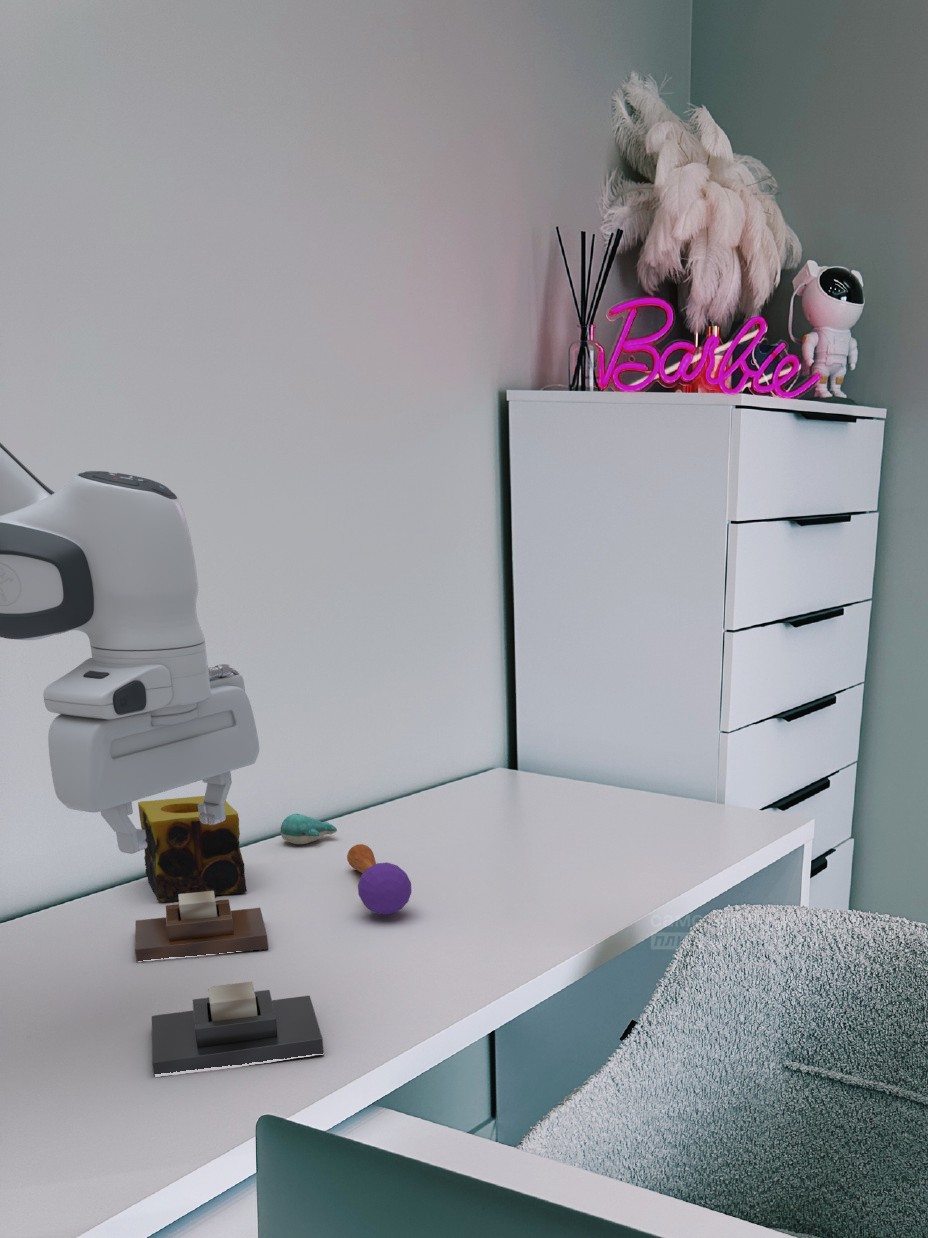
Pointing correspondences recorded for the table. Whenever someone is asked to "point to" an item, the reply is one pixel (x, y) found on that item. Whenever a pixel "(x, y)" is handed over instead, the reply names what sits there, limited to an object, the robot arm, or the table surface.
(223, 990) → the front key
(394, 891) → the purple maraca
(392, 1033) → the table surface
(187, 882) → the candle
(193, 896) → the back key
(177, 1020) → the dark grey socket base
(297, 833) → the whale figurine
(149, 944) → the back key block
